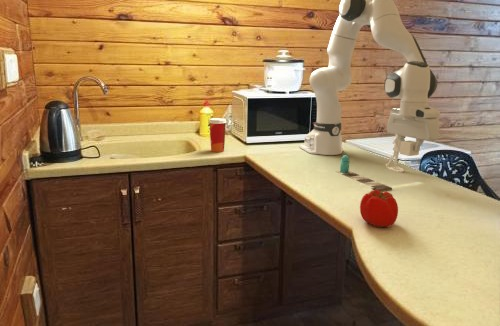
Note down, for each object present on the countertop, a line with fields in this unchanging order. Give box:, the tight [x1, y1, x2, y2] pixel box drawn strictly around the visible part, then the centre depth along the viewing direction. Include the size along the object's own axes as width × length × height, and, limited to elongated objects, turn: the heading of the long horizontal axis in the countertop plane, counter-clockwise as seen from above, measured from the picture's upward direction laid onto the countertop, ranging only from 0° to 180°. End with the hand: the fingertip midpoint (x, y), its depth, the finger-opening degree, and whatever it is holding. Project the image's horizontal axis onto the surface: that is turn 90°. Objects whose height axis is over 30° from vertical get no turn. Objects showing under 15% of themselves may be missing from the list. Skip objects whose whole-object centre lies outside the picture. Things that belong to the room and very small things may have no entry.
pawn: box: [339, 154, 350, 174], centre depth 156 cm, size 3×3×7 cm
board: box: [335, 170, 393, 192], centre depth 148 cm, size 24×6×1 cm, turn 25°
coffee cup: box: [208, 117, 227, 153], centre depth 190 cm, size 8×8×15 cm
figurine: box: [385, 134, 405, 174], centre depth 161 cm, size 8×8×18 cm
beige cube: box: [399, 140, 420, 157], centre depth 144 cm, size 4×4×4 cm
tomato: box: [359, 190, 399, 228], centre depth 109 cm, size 11×11×9 cm
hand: (409, 149), depth 144 cm, fingers closed on beige cube, 4 cm apart
